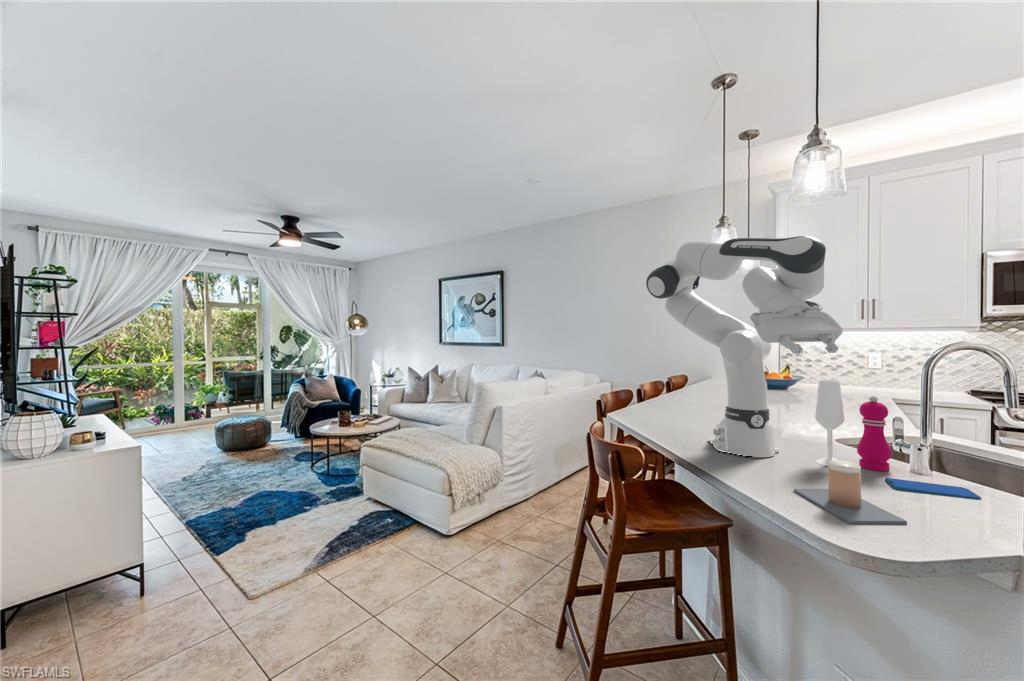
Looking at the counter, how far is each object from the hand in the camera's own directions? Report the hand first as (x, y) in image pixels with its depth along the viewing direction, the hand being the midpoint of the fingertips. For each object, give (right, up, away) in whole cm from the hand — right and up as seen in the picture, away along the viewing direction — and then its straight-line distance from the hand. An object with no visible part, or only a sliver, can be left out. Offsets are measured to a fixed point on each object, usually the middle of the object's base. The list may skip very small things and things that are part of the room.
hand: (816, 351), depth 97 cm
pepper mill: (+28, -33, +17) cm, 47 cm away
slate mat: (0, -33, -8) cm, 34 cm away
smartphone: (+28, -33, +1) cm, 43 cm away
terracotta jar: (0, -33, -8) cm, 34 cm away
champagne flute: (+20, -33, +21) cm, 44 cm away
